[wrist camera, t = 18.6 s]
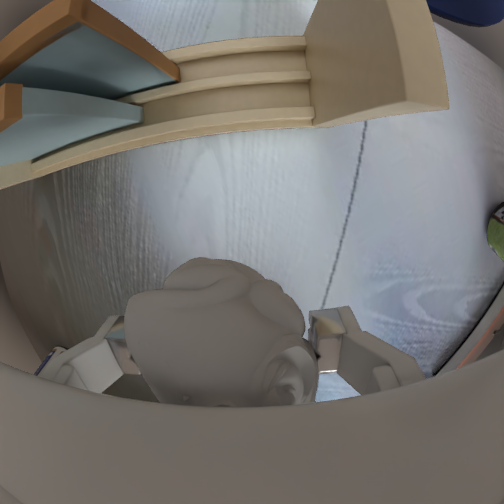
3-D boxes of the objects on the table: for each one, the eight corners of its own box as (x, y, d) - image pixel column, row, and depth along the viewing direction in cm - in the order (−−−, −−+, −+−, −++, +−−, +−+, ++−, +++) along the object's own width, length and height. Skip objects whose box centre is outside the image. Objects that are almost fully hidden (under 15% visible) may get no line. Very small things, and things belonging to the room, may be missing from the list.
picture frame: (521, 246, 20) (430, 377, 28) (533, 253, 18) (437, 389, 26) (545, 287, 23) (474, 387, 30) (553, 294, 20) (480, 396, 28)
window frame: (35, 110, 17) (-81, 122, 4) (319, 43, 15) (397, -68, 2) (41, 176, 19) (-75, 222, 6) (328, 127, 18) (455, 109, 5)
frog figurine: (245, 366, 14) (238, 482, 8) (136, 291, 12) (65, 399, 6) (331, 295, 12) (378, 423, 6) (210, 194, 11) (137, 277, 4)
